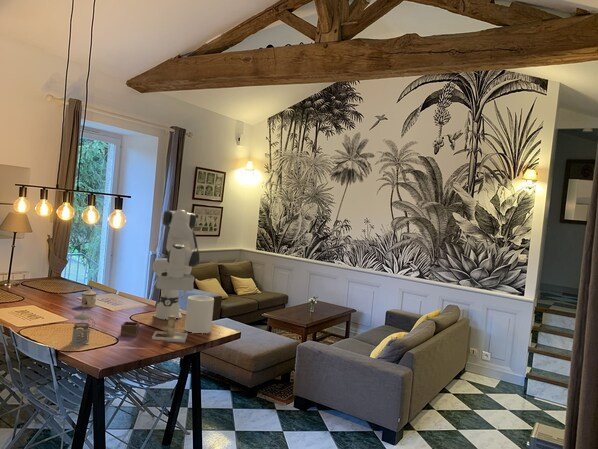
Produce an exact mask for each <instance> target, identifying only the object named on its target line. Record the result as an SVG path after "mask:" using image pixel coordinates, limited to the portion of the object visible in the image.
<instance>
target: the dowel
mask: <svg viewBox="0 0 598 449" xmlns="http://www.w3.org/2000/svg"><path fill="white" fill-rule="evenodd" d="M175 318H176V316H168V320H167V327H166V328H167V329H166V332H167V334H166V336H165V337H168V338H174V332H175V327H176V319H175Z"/></svg>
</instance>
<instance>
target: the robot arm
mask: <svg viewBox="0 0 598 449" xmlns="http://www.w3.org/2000/svg"><path fill="white" fill-rule="evenodd" d="M161 222H162V224H163V226H165V227H169V230H168V232H167V233H168V234H167V240H166V241H167V242H166V250H167V258H165V257H164V258H163V257H162V258H156V259H155V260H154V261H153V263H152V271H153V272H154V273H155V274H156V275H157V276H158V278H157V280H156V285H155V288H156V289H159V290H160V295H159V302H157V304H156V307H155V308H156V309H155V313H154V314H152V317H153V316H154V318H157V319H160V320H165V319H166V320H167V321H168V316H176V318H178V319H182V318H183V316H182V313H181V310H180V309H181V305H180V304H179V291H183V294H181V295H180V299H185V295H186V293H187V292H191V291H193V290H194V282H195V280H196V279H195V276H194V275H193V274H191V272H192V269H193V268H195V267H197V266H198V265H200V262H201V255H200V251H199V248H198V242H197V238H196V233H195V231H194V230H193V229H194V228H195V227H196V225H197V222H198V220H197V216H196V214H195V213H193V212H188V211H186V210H184V209H177V210H170V209H169V210H165V211H164V212H163V214H162V216H161ZM185 242H187V243H189V248H190V249H187V248H186V246H185ZM192 267H193V268H192ZM176 318H175V320H177V319H176Z"/></svg>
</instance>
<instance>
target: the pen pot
mask: <svg viewBox="0 0 598 449" xmlns="http://www.w3.org/2000/svg"><path fill="white" fill-rule="evenodd" d="M139 330H140V322H137V321H126V320H125V321H124V322H123V323H122V324H121V325H120V334H119V336H120V337H124V338H125V337H126V338H136V337H137V336H138V335H139V332H140V331H139Z"/></svg>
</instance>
